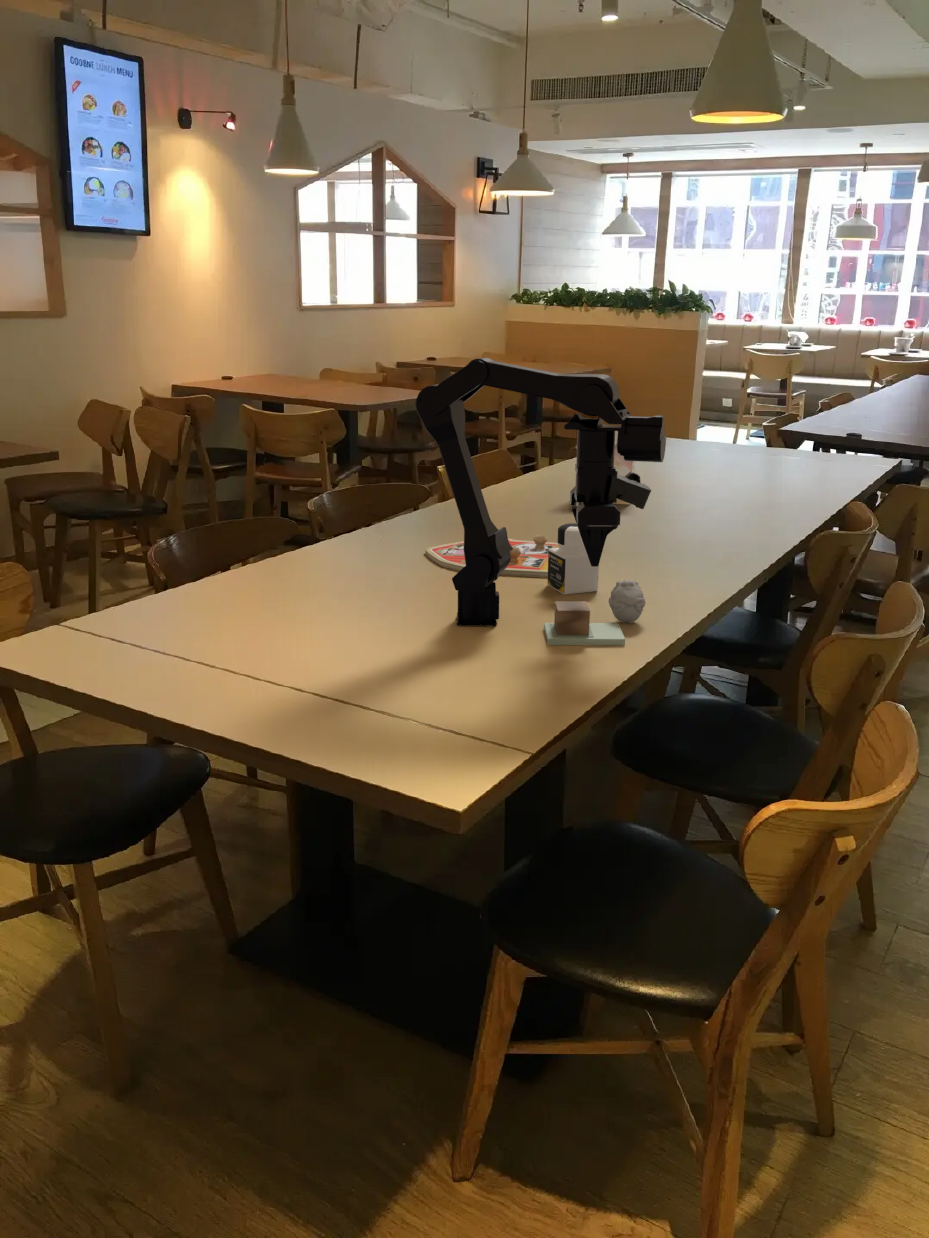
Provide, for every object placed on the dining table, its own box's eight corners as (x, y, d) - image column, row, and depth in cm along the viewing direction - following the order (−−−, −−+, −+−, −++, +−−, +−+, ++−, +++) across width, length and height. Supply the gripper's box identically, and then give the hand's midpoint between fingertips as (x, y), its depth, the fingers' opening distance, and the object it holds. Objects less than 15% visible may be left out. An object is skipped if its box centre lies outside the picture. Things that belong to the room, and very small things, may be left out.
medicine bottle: (546, 585, 186) (548, 522, 182) (580, 581, 188) (583, 520, 185) (563, 595, 180) (565, 530, 176) (598, 591, 182) (601, 527, 178)
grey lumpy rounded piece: (639, 615, 168) (642, 575, 166) (648, 628, 162) (651, 587, 160) (604, 615, 168) (606, 575, 166) (611, 628, 162) (613, 587, 159)
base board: (547, 644, 154) (547, 638, 153) (544, 628, 161) (544, 622, 161) (624, 645, 154) (625, 638, 153) (617, 628, 161) (617, 622, 161)
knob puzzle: (555, 582, 190) (556, 560, 188) (407, 574, 195) (406, 552, 194) (572, 547, 217) (572, 527, 215) (441, 541, 223) (441, 521, 221)
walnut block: (557, 635, 155) (557, 610, 153) (554, 625, 159) (555, 601, 158) (588, 635, 155) (590, 610, 153) (585, 625, 159) (586, 601, 158)
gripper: (657, 469, 142) (652, 574, 146) (640, 451, 159) (635, 545, 164) (579, 469, 142) (576, 574, 147) (570, 451, 160) (568, 545, 165)
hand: (592, 558), depth 156 cm, fingers open, 9 cm apart
